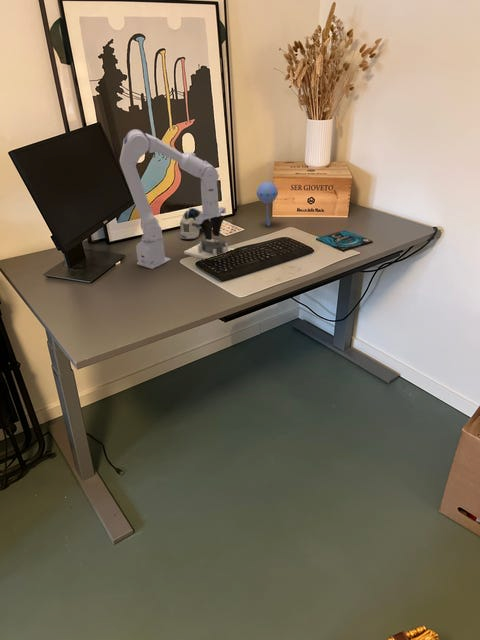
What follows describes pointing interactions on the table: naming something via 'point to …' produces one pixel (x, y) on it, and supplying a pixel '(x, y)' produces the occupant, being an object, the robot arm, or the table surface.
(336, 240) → the guitar string package
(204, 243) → the block
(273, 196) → the baby rattle
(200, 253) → the pegged base plate
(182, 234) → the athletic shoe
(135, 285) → the table surface
